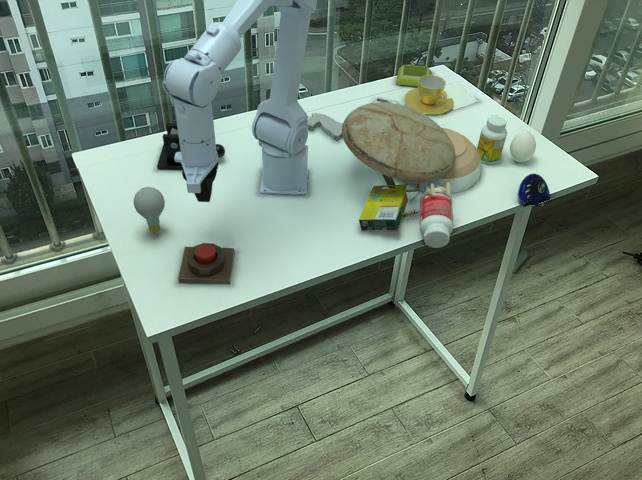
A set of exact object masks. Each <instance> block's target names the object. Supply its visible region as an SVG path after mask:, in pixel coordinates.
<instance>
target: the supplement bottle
mask: <svg viewBox="0 0 642 480" xmlns="http://www.w3.org/2000/svg"><path fill="white" fill-rule="evenodd" d="M507 123H508V121H507V119H506V118H505V117H504V116H501V115H497V114H493V115H490V116H488V118H487V120H486V123H485V124H484V125H483V126H482V128H481V131H480V135H479V139H478V143H477V147H476V148H477V150H478V151H479V154H480V158H481V164H485V165H495V164H497V163H498V162H499V161H500V160H501V157H502V153H503V151H504V147H505V143H506V140H507V136H508V131H507V128H506V127H507Z"/></svg>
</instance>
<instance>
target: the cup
mask: <svg viewBox="0 0 642 480" xmlns="http://www.w3.org/2000/svg"><path fill="white" fill-rule="evenodd" d="M446 85H447V83H446V80H445V79H444V78H443V77H440V76H439V75H435V74H432V75H426V76H422V77H420V78H419V80H418V86H417V87H416V88H413V89H410V90H408V91H407V92H406V94H405V95H404V97H403V98H404V99H403V101H404V103H405V105H406V106H407V107H410V108H412V109H415V110H417V111H419V112H421V113H423V114H424V115H441V114H445V113H448V112H449V111H451V110H452V107H453V106H454V101H453V99H452V98H448V99H447V93H446V92H445V91H444V88H445V86H446ZM441 95H443V99H442V98H441Z"/></svg>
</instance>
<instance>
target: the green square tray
mask: <svg viewBox="0 0 642 480" xmlns="http://www.w3.org/2000/svg"><path fill="white" fill-rule="evenodd" d="M426 75H433V72H432V70H431V68H429V66H424V65H414V64H402V65H401V66H400V67H399V68H398V70H397V76H396V80H395V85H396V86H397V85H398V86H408V87H418V80H419V78H420V77H422V76H426Z"/></svg>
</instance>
